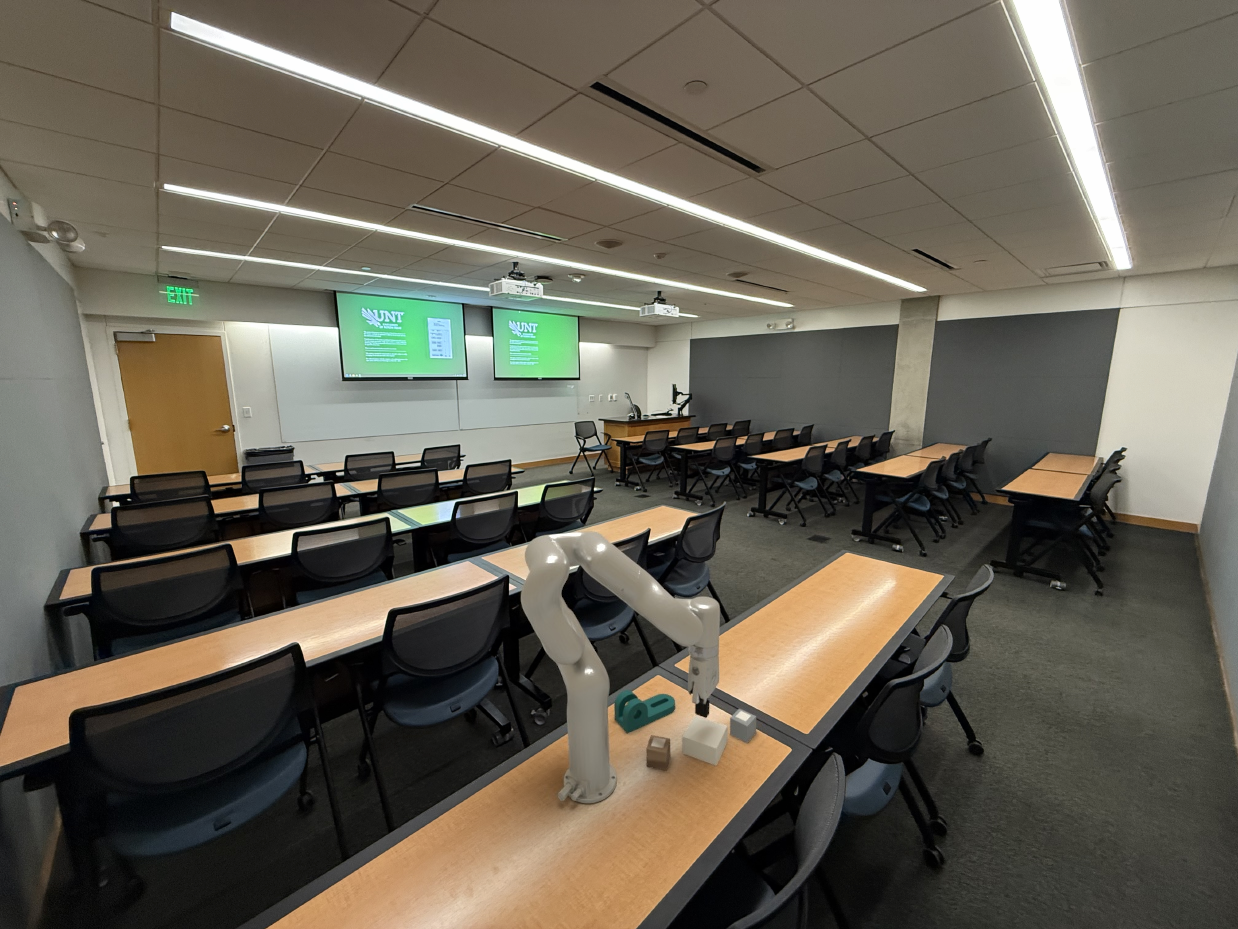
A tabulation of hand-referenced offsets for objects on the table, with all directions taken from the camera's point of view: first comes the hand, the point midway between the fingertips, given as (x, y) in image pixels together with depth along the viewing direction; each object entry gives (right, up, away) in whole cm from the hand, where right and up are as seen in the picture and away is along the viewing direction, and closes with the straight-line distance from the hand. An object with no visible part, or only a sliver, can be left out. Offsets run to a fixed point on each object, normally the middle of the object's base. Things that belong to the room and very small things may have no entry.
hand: (702, 714), depth 122 cm
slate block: (+12, -9, +6) cm, 16 cm away
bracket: (-13, -8, +15) cm, 21 cm away
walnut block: (-11, -11, -2) cm, 16 cm away
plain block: (+1, -10, +2) cm, 10 cm away
